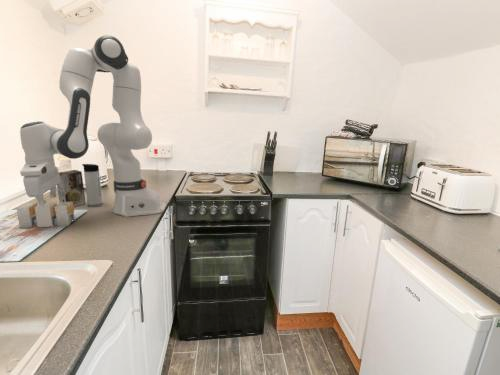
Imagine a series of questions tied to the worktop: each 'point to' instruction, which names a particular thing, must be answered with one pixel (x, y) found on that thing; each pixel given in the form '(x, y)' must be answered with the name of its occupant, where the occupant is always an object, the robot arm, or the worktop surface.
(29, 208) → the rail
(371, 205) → the worktop surface
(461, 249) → the worktop surface
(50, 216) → the notched cream cube
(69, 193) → the coffee box
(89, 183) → the travel mug
